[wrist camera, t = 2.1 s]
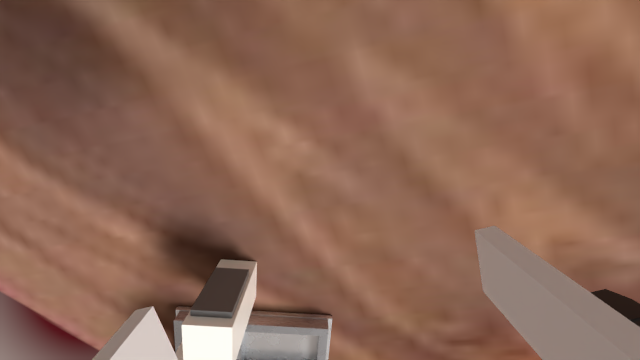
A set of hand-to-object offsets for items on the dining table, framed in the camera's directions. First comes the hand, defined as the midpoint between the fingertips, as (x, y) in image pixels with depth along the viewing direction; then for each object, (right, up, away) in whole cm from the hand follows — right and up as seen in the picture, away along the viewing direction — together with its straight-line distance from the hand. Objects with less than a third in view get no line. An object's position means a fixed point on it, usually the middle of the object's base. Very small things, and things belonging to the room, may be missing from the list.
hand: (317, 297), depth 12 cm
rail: (-8, -14, +24) cm, 29 cm away
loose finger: (-9, -6, +22) cm, 25 cm away
